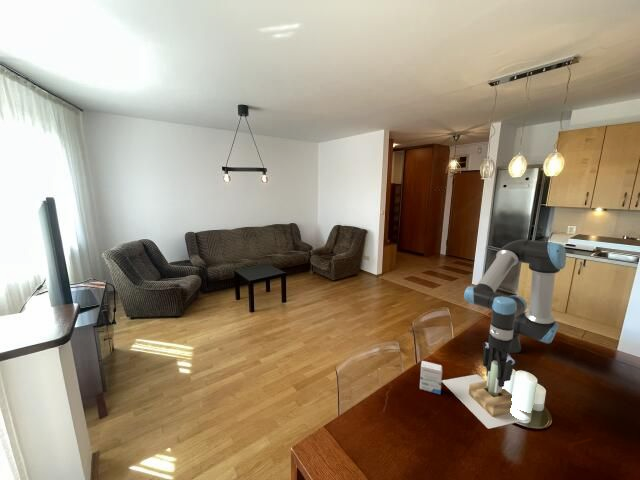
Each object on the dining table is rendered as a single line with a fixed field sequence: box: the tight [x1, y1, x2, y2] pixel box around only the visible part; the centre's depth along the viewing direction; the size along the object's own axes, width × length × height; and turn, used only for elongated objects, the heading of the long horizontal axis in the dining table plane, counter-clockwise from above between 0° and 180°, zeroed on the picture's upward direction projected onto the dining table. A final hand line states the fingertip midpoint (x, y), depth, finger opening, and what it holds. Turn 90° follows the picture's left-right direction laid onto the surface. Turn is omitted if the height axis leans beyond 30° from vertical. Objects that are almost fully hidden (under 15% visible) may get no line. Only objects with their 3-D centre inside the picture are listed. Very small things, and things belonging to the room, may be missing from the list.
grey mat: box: [441, 373, 523, 429], centre depth 111 cm, size 26×20×1 cm
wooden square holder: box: [469, 380, 513, 417], centre depth 108 cm, size 12×12×5 cm
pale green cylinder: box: [488, 359, 498, 397], centre depth 107 cm, size 4×4×17 cm
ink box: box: [419, 360, 443, 395], centre depth 116 cm, size 9×5×12 cm, turn 65°
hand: (493, 388), depth 107 cm, fingers closed on pale green cylinder, 3 cm apart
